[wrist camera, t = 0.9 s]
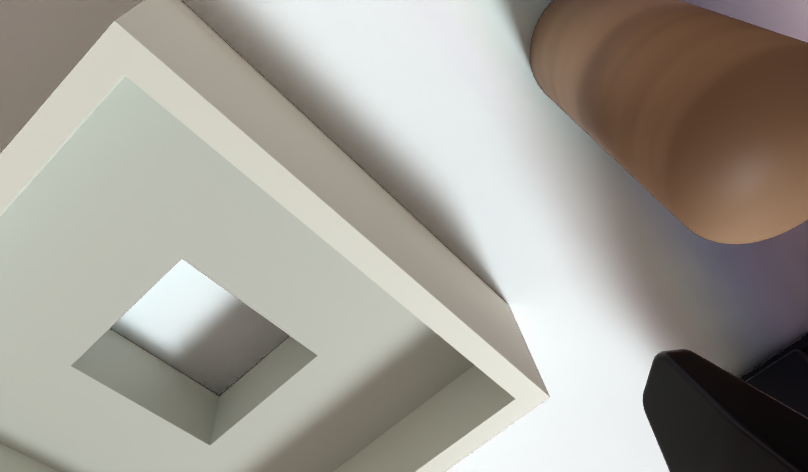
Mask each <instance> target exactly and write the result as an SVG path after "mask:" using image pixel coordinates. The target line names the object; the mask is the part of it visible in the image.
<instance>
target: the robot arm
mask: <svg viewBox="0 0 808 472" xmlns="http://www.w3.org/2000/svg"><path fill="white" fill-rule="evenodd" d="M643 406H644V410H645V413H646V416H647V418H648V420H649V423H650V425H651V428H652V430H653V432H654V435H655V437H656V440H657V442H658V445H659V447H660V449H661V452H662V454H663V457H664V459H665V461H666V464H667V466H668V469H669V471H670V472H808V335H807V336H806V337H804V338H803V339H801V340H800V341H798V342H797V343H795V344H794V345H792V346H791V347H789V348H788V349H786V350H785V351H783V352H782V353H780V354H778V355H777V356H775V357H774V358H772V359H771V360H769V361H768V362H766V363H765V364H763V365H762V366H760V367H759V368H757V369H756V370H754V371H753V372H751V373H750V374H748V375H746V376H745V377H743V378H742V379H739V378H737V377H736V376H734V375H732V374H730V373H729V372H727V371H725V370H724V369H722V368H720V367H718V366H717V365H715V364H713V363H711V362H710V361H708V360H706V359H704V358H703V357H701V356H699V355H697V354H696V353H694V352H692V351H690V350H685V349H680V350H672V351H663V352H660V353H658V354H657V355H656V356H655V358H654V360H653V363H652V366H651V370H650V373H649V376H648V379H647V383H646V386H645V389H644V393H643Z"/></svg>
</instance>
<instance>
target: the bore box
mask: <svg viewBox="0 0 808 472" xmlns="http://www.w3.org/2000/svg"><path fill="white" fill-rule="evenodd" d="M181 259H183V260H185V261H186V262H187V263H189V264H190V265H192V266H193V267H194V268H196V269H197V270H199V271H200V272H201V273H203V274H204V275H206V276H207V277H208V278H210V279H211V280H213V281H214V282H215V283H217V284H218V285H220V286H221V287H222V288H224V289H225V290H227V291H228V292H229V293H231V294H232V295H234V296H235V297H236V298H238V299H239V300H241V301H242V302H243V303H245V304H246V305H248V306H249V307H250V308H252V309H253V310H255V311H256V312H257V313H259V314H260V315H262V316H263V317H264V318H266V319H267V320H269V321H270V322H271V323H273V324H274V325H276V326H277V327H278V328H280V329H281V330H283V331H284V332H285V333H287V334H288V335H289V337H288V338H287V339H286V340H285V341H283V342H282V343H281V344H280V345H279V346H278V347H276V348H275V349H274V350H273V351H272V352H271V353H269V354H268V355H267V356H266V357H265V358H264V359H263V360H261V361H260V362H259V363H258V364H257V365H256V366H254V367H253V368H252V369H251V370H250V371H249V372H247V373H246V374H245V375H244V376H243V377H242V378H240V379H239V380H238V381H237V382H236V383H235V384H233V385H232V386H231V387H230V388H229V389H228V390H226V391H225V392H224V393H223V394H222V395H221V396H218V395H216V394H214V393H213V392H211V391H210V390H208V389H206V388H205V387H203V386H202V385H200V384H198V383H197V382H195V381H193V380H192V379H190V378H189V377H187V376H185V375H184V374H182V373H181V372H179V371H177V370H176V369H174V368H172V367H171V366H169V365H168V364H166V363H164V362H163V361H161V360H160V359H158V358H156V357H155V356H153V355H152V354H150V353H148V352H147V351H145V350H143V349H142V348H140V347H139V346H137V345H135V344H134V343H132V342H131V341H129V340H127V339H126V338H124V337H122V336H121V335H119V334H118V333H116V332H114V331H113V330H111V329H110V328H111V327H112V326H113V325H114V324H115V323H116V322H117V321H118V320H119V319H120V318H121V317H122V316H123V315H124V314H125V313H126V312H127V311H128V310H129V309H130V308H131V307H132V306H133V305H134V304H135V303H136V302H137V301H138V300H140V299H141V298H142V297H143V296H144V295H145V294H146V293H147V292H148V291H149V290H150V289H151V288H152V287H153V286H154V285H155V284H156V283H157V282H158V281H159V280H160V279H161V278H162V277H163V276H164V275H165V274H166V273H167V272H168V271H170V270H171V269H172V268H173V267H174V266H175V265H176V264H177V263H178V262H179V261H180V260H181ZM548 398H550V396H549V394H548V392H547V389H546V387H545V385H544V383H543V380H542V378H541V376H540V374H539V371H538V369H537V367H536V365H535V362H534V360H533V358H532V356H531V353H530V351H529V349H528V347H527V344H526V342H525V340H524V338H523V335H522V333H521V331H520V329H519V327H518V324H517V322H516V320H515V318H514V315H513V313H512V311H511V309H510V306H509V305H508V304H507V303H506V302H505V301H504V300H503V299H502V298H500V297H499V296H498V295H497V294H496V293H495V292H494V291H493V290H492V289H491V288H490V287H489V286H488V285H486V284H485V283H484V282H483V281H482V280H481V279H480V278H479V277H478V276H477V275H476V274H475V273H474V272H472V271H471V270H470V269H469V268H468V267H467V266H466V265H465V264H464V263H463V262H462V261H461V260H460V259H458V258H457V257H456V256H455V255H454V254H453V253H452V252H451V251H450V250H449V249H448V248H447V247H446V246H444V245H443V244H442V243H441V242H440V241H439V240H438V239H437V238H436V237H435V236H434V235H433V234H432V233H430V232H429V231H428V230H427V229H426V228H425V227H424V226H423V225H422V224H421V223H420V222H419V221H418V220H416V219H415V218H414V217H413V216H412V215H411V214H410V213H409V212H408V211H407V210H406V209H405V208H404V207H402V206H401V205H400V204H399V203H398V202H397V201H396V200H395V199H394V198H393V197H392V196H391V195H390V194H388V193H387V192H386V191H385V190H384V189H383V188H382V187H381V186H380V185H379V184H378V183H377V182H376V181H374V180H373V179H372V178H371V177H370V176H369V175H368V174H367V173H366V172H365V171H364V170H363V169H362V168H360V167H359V166H358V165H357V164H356V163H355V162H354V161H353V160H352V159H351V158H350V157H349V156H348V155H346V154H345V153H344V152H343V151H342V150H341V149H340V148H339V147H338V146H337V145H336V144H335V143H334V142H332V141H331V140H330V139H329V138H328V137H327V136H326V135H325V134H324V133H323V132H322V131H321V130H320V129H318V128H317V127H316V126H315V125H314V124H313V123H312V122H311V121H310V120H309V119H308V118H307V117H306V116H304V115H303V114H302V113H301V112H300V111H299V110H298V109H297V108H296V107H295V106H294V105H293V104H292V103H290V102H289V101H288V100H287V99H286V98H285V97H284V96H283V95H282V94H281V93H280V92H279V91H278V90H276V89H275V88H274V87H273V86H272V85H271V84H270V83H269V82H268V81H267V80H266V79H265V78H264V77H262V76H261V75H260V74H259V73H258V72H257V71H256V70H255V69H254V68H253V67H252V66H251V65H250V64H248V63H247V62H246V61H245V60H244V59H243V58H242V57H241V56H240V55H239V54H238V53H237V52H236V51H235V50H233V49H232V48H231V47H230V46H229V45H228V44H227V43H226V42H225V41H224V40H223V39H222V38H221V37H219V36H218V35H217V34H216V33H215V32H214V31H213V30H212V29H211V28H210V27H209V26H208V25H207V24H205V23H204V22H203V21H202V20H201V19H200V18H199V17H198V16H197V15H196V14H195V13H194V12H193V11H191V10H190V9H189V8H188V7H187V6H186V5H185V4H184V3H183V2H182V1H181V0H144V1H142V2H141V3H139V4H138V5H136V6H135V7H133V8H132V9H130V10H129V11H128V12H126V13H125V14H123V15H122V16H120V17H119V18H117V19H116V20H114V21H113V23H112V24H111V25H110V26H109V27H108V29H107V30H106V31H105V32H104V33H103V34H102V36H101V37H100V38H99V39H98V40H97V41H96V43H95V44H94V45H93V46H92V47H91V48H90V50H89V51H88V52H87V53H86V54H85V55H84V57H83V58H82V59H81V60H80V61H79V62H78V64H77V65H76V66H75V67H74V68H73V69H72V71H71V72H70V73H69V74H68V75H67V76H66V78H65V79H64V80H63V81H62V82H61V83H60V85H59V86H58V87H57V88H56V89H55V91H54V92H53V93H52V94H51V95H50V96H49V98H48V99H47V100H46V101H45V102H44V103H43V105H42V106H41V107H40V108H39V109H38V110H37V112H36V113H35V114H34V115H33V116H32V117H31V119H30V120H29V121H28V122H27V123H26V124H25V126H24V127H23V128H22V129H21V130H20V131H19V133H18V134H17V135H16V136H15V137H14V138H13V140H12V141H11V142H10V143H9V144H8V145H7V147H6V148H5V149H4V150H3V151H2V152H1V154H0V472H446V471H447V470H448V469H450V468H451V467H453V466H454V465H455V464H457V463H458V462H460V461H461V460H462V459H464V458H465V457H467V456H468V455H469V454H471V453H472V452H474V451H475V450H476V449H478V448H479V447H481V446H482V445H483V444H485V443H486V442H488V441H489V440H491V439H492V438H493V437H495V436H496V435H498V434H499V433H500V432H502V431H503V430H505V429H506V428H507V427H509V426H510V425H512V424H513V423H514V422H516V421H517V420H519V419H520V418H521V417H523V416H524V415H526V414H527V413H528V412H530V411H531V410H533V409H534V408H535V407H537V406H538V405H540V404H541V403H543V402H544V401H545V400H547V399H548Z"/></svg>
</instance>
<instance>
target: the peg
mask: <svg viewBox="0 0 808 472" xmlns="http://www.w3.org/2000/svg"><path fill="white" fill-rule="evenodd" d="M530 62H531V68H532V72H533V75H534V77H535V79H536V81H537V83H538V85H539V86H540V88H541V89H542V90H543V92H544V93H545V94H546V95H547V96H548V97H549V98H551V99H552V100H553V101H554V102H555V103H556V104H557V105H558V106H559V107H560V108H561V109H562V110H563V111H564V112H565V113H566V114H567V115H569V116H570V117H571V118H572V119H573V120H574V121H575V122H576V123H577V124H578V125H579V126H580V127H581V128H582V129H583V130H584V131H585V132H586V133H588V134H589V135H590V136H591V137H592V138H593V139H594V140H595V141H596V142H597V143H598V144H599V145H600V146H601V147H602V148H603V149H604V150H606V151H607V152H608V153H609V154H610V155H611V156H612V157H613V158H614V159H615V160H616V161H617V162H618V163H619V164H620V165H621V166H622V167H624V168H625V169H626V170H627V171H628V172H629V173H630V174H631V175H632V176H633V177H634V178H635V179H636V180H637V181H638V182H639V183H640V184H642V185H643V186H644V187H645V188H646V189H647V190H648V191H649V192H650V193H651V194H652V195H653V196H654V197H655V198H656V199H657V200H658V201H660V202H661V203H662V204H663V205H664V206H665V207H666V208H667V209H668V210H669V211H670V212H671V213H672V214H673V215H674V216H675V217H676V218H678V219H679V220H680V221H681V222H682V223H683V224H684V225H685V226H686V227H687V228H688V229H690V230H691V231H692V232H694V233H695V234H697V235H699V236H701V237H703V238H705V239H708V240H711V241H714V242H719V243H724V244H746V243H753V242H758V241H762V240H766V239H769V238H772V237H775V236H778V235H780V234H782V233H785V232H787V231H789V230H791V229H793V228H795V227H796V226H798V225H800V224H801V223H803V222H805V221H806V220H808V43H806V42H803V41H800V40H797V39H794V38H791V37H788V36H785V35H782V34H779V33H776V32H773V31H770V30H767V29H764V28H761V27H758V26H755V25H752V24H749V23H746V22H743V21H740V20H737V19H734V18H731V17H728V16H725V15H722V14H719V13H716V12H713V11H710V10H707V9H704V8H701V7H698V6H695V5H692V4H689V3H686V2H683V1H680V0H553V1H552V2H551V3H550V4H549V5H548V7H547V8H546V9H545V10H544V12H543V13H542V15H541V17H540V18H539V20H538V22H537V25H536V27H535V30H534V33H533V36H532V40H531V46H530Z"/></svg>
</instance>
